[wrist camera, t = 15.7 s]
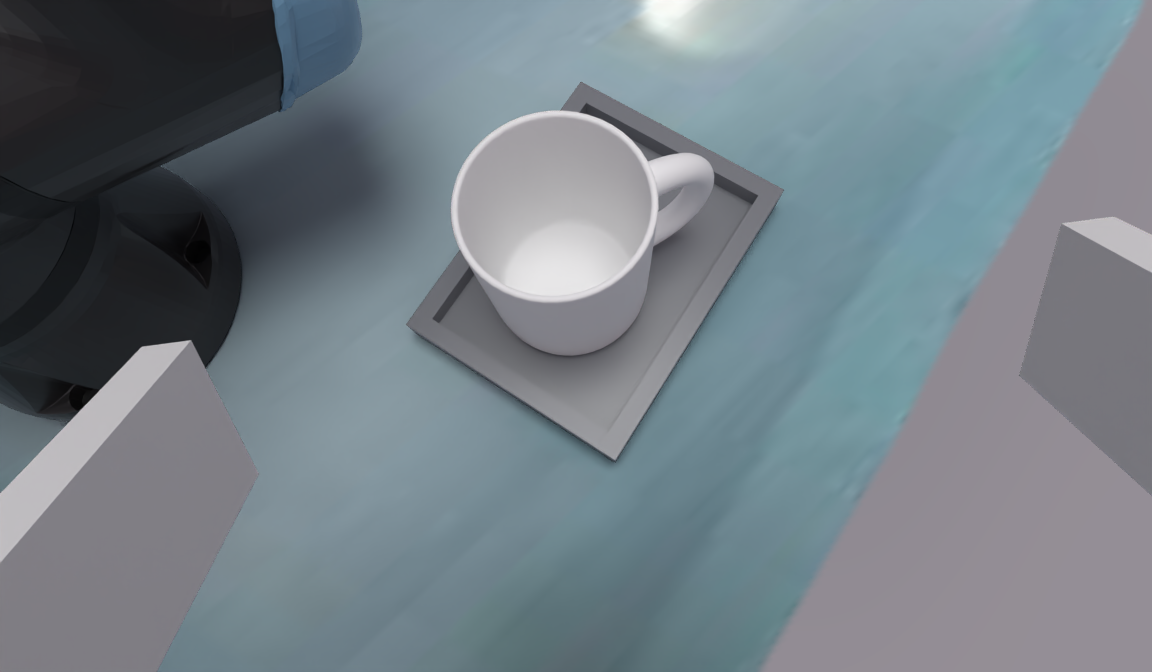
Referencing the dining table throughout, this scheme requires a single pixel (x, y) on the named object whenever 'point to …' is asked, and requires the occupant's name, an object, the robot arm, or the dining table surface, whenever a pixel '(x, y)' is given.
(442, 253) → the dining table surface
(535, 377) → the tray
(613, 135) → the mug
